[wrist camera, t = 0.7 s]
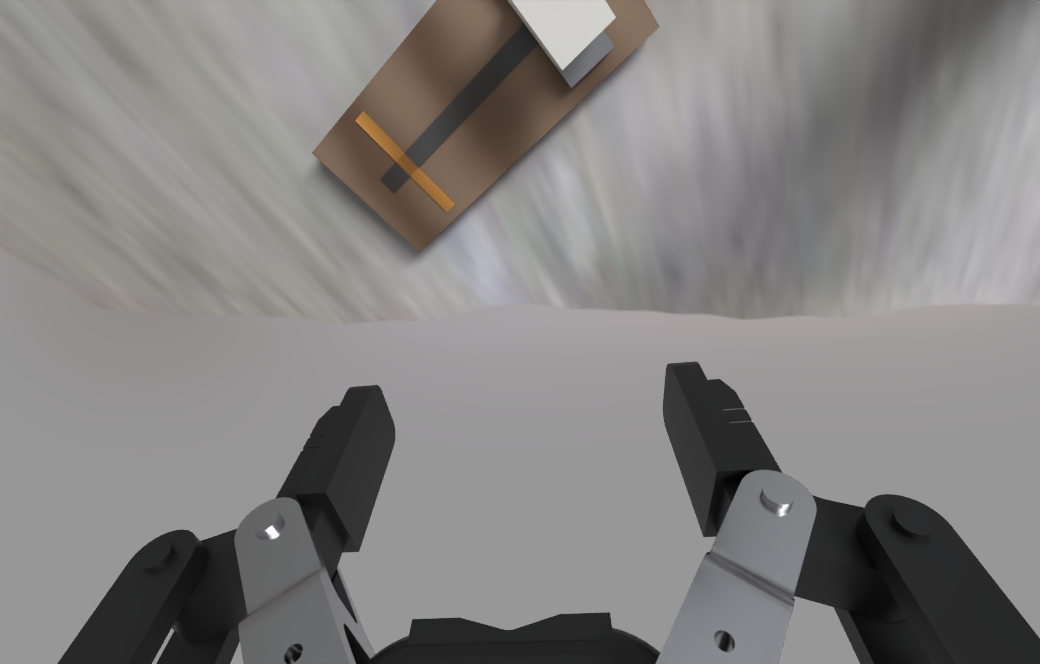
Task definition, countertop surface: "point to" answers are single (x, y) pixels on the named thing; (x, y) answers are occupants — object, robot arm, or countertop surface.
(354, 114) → the board
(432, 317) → the countertop surface
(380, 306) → the countertop surface
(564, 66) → the fader
